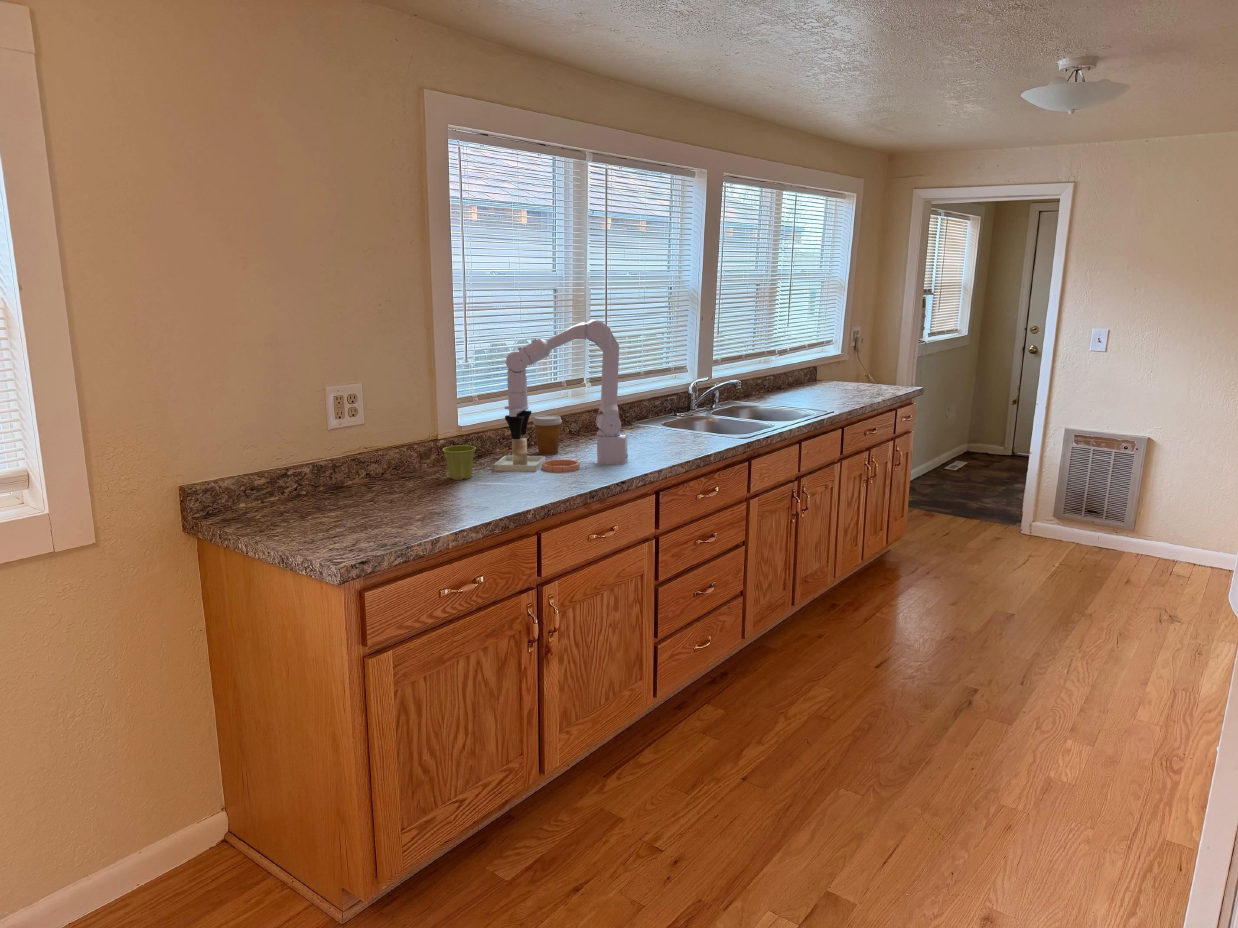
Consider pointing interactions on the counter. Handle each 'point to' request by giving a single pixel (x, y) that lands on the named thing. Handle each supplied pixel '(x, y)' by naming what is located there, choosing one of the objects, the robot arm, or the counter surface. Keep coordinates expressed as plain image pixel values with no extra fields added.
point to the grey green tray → (507, 465)
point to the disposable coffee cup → (547, 433)
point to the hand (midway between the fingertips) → (519, 436)
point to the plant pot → (459, 461)
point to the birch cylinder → (519, 451)
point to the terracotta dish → (560, 465)
